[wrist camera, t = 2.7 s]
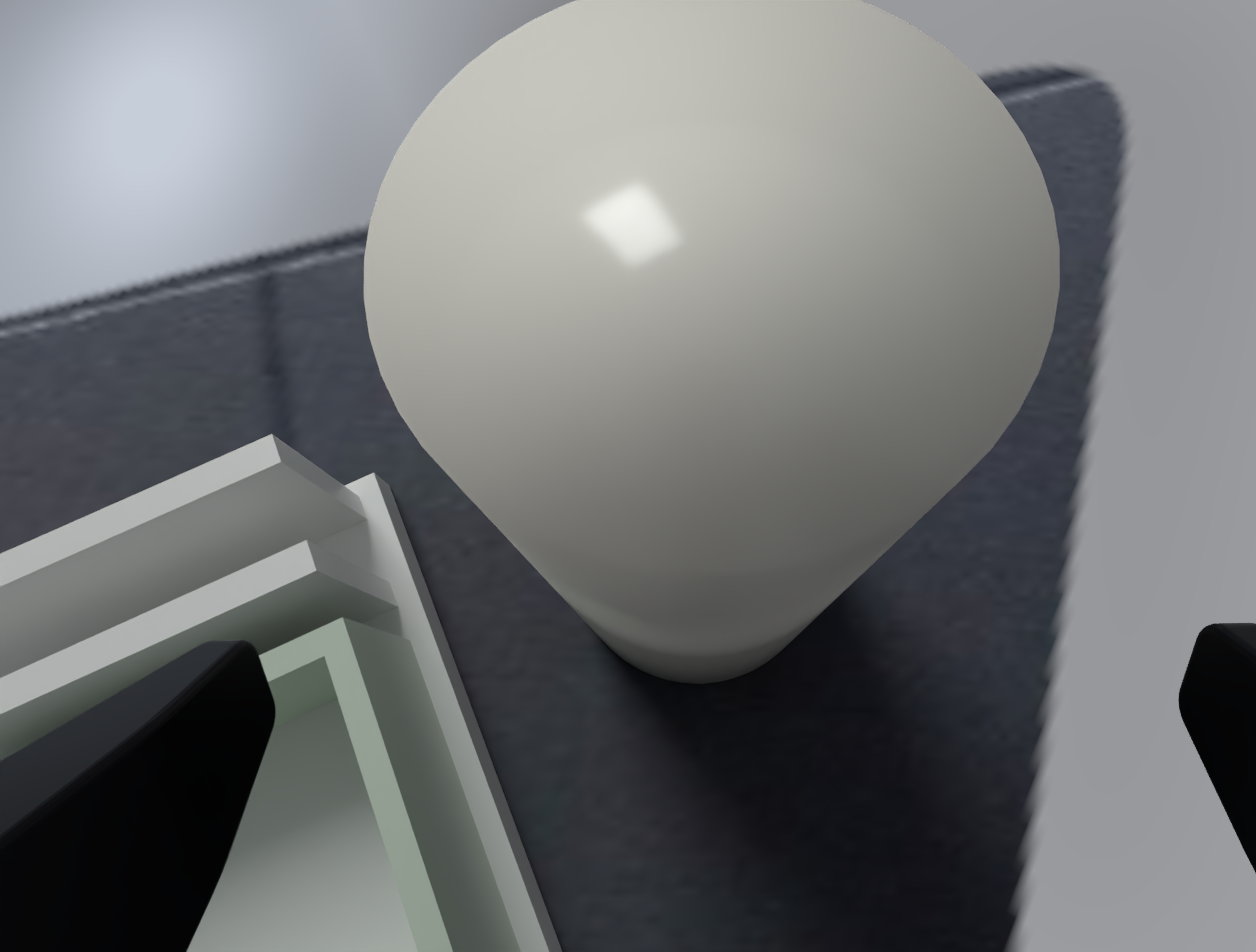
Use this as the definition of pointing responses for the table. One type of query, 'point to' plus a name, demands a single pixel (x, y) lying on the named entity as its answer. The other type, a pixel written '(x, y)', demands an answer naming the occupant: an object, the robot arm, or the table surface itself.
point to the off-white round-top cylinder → (710, 305)
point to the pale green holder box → (290, 701)
